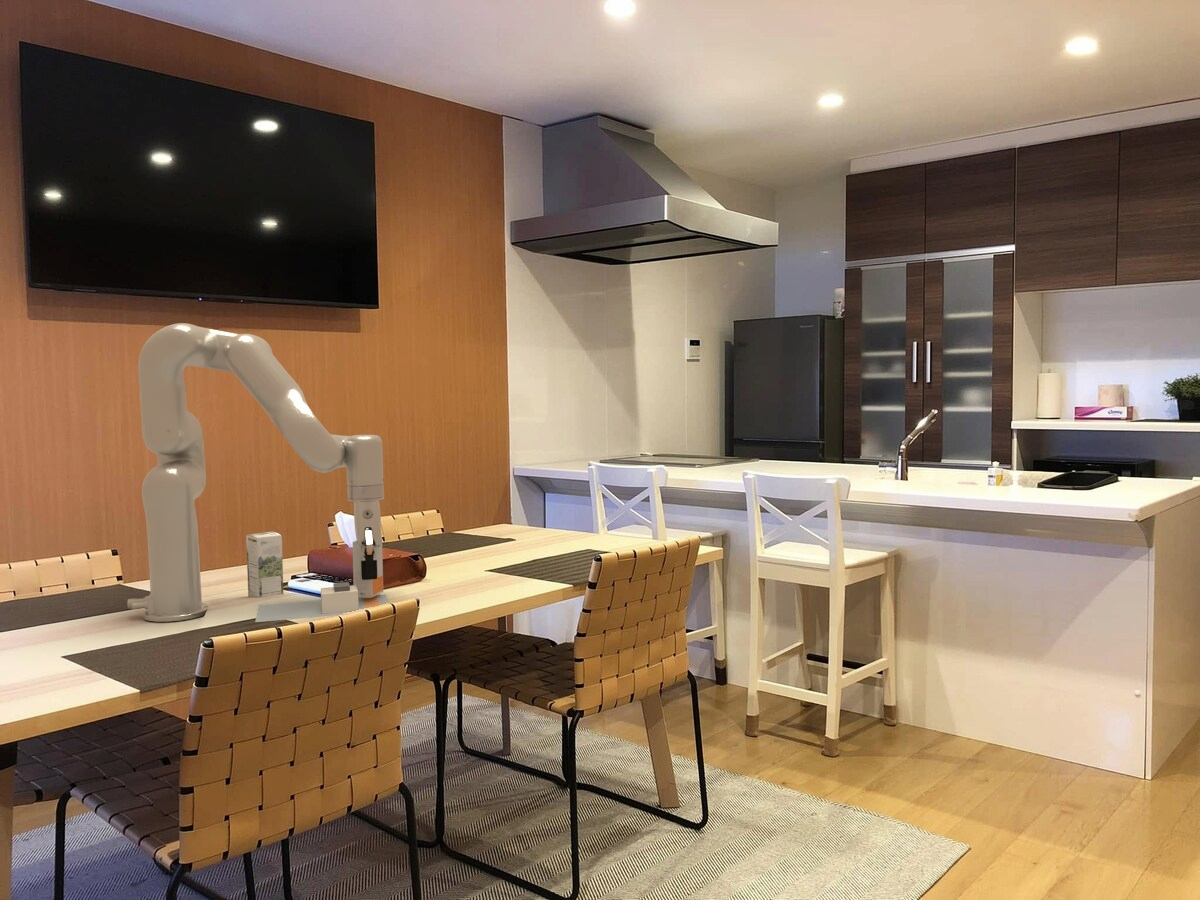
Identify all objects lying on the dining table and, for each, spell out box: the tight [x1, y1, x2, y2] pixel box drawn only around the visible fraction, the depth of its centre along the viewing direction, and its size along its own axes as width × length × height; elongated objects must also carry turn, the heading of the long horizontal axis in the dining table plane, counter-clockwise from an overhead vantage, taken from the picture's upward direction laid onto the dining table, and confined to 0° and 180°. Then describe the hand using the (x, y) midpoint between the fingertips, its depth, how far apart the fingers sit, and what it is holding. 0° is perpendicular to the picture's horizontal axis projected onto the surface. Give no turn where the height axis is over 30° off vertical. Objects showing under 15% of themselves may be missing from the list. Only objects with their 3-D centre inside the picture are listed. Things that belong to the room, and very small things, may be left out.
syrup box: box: [245, 531, 285, 598], centre depth 204 cm, size 6×6×14 cm
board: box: [254, 593, 390, 623], centre depth 190 cm, size 26×15×1 cm, turn 108°
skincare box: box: [352, 540, 384, 598], centre depth 197 cm, size 6×4×12 cm
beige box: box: [320, 581, 359, 614], centre depth 188 cm, size 7×6×5 cm
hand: (368, 575), depth 197 cm, fingers closed on skincare box, 7 cm apart
